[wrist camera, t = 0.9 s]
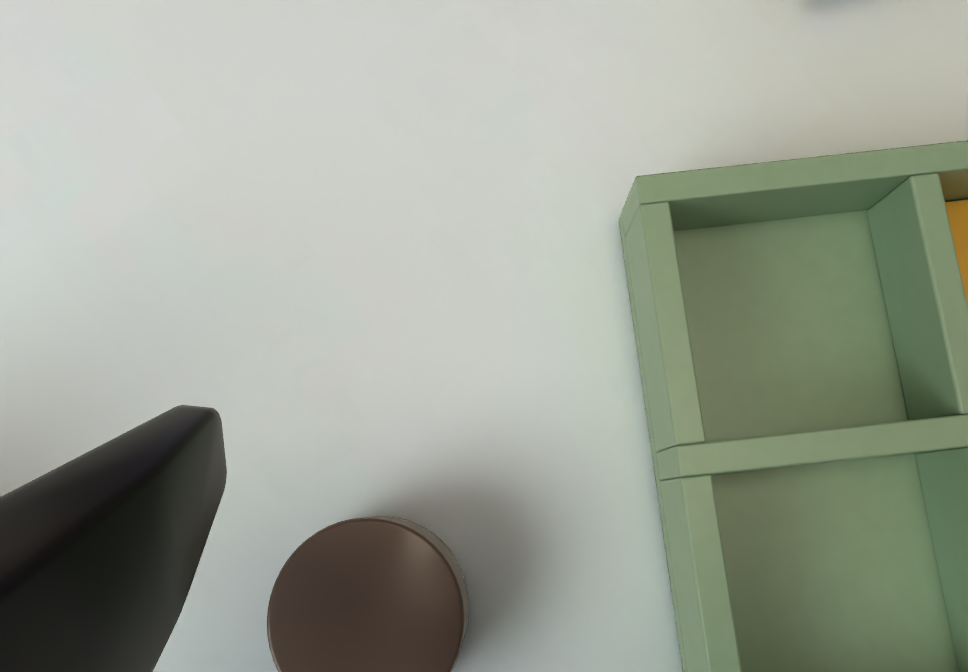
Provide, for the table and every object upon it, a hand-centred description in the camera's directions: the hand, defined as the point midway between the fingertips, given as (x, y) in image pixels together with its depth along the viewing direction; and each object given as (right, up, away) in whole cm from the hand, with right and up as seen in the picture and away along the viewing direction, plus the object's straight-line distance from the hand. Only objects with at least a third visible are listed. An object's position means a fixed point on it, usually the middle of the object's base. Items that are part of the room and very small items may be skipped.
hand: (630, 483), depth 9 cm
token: (-4, -5, +12) cm, 14 cm away
